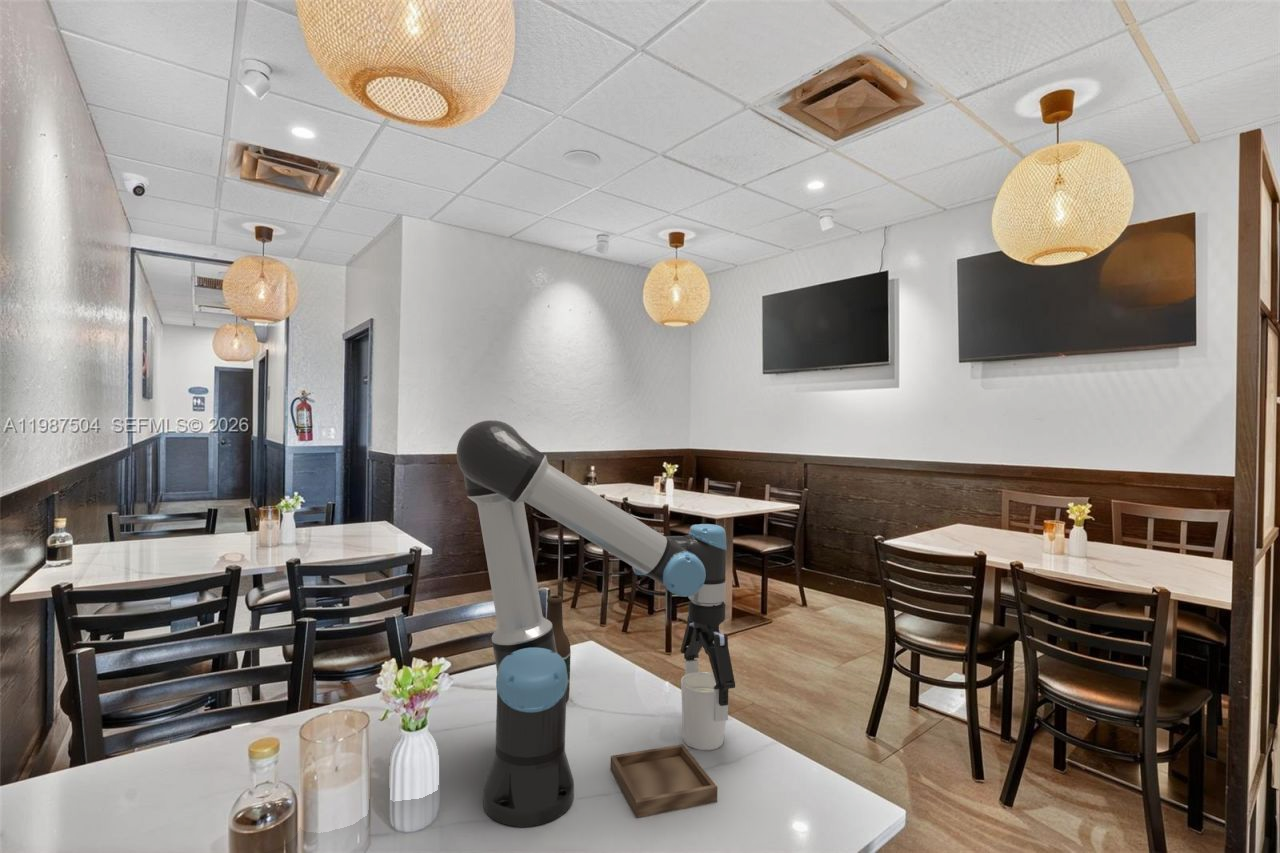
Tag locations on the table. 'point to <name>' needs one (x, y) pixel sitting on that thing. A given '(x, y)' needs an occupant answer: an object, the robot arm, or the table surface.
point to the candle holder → (700, 712)
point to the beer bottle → (559, 633)
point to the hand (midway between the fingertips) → (705, 704)
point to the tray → (662, 780)
